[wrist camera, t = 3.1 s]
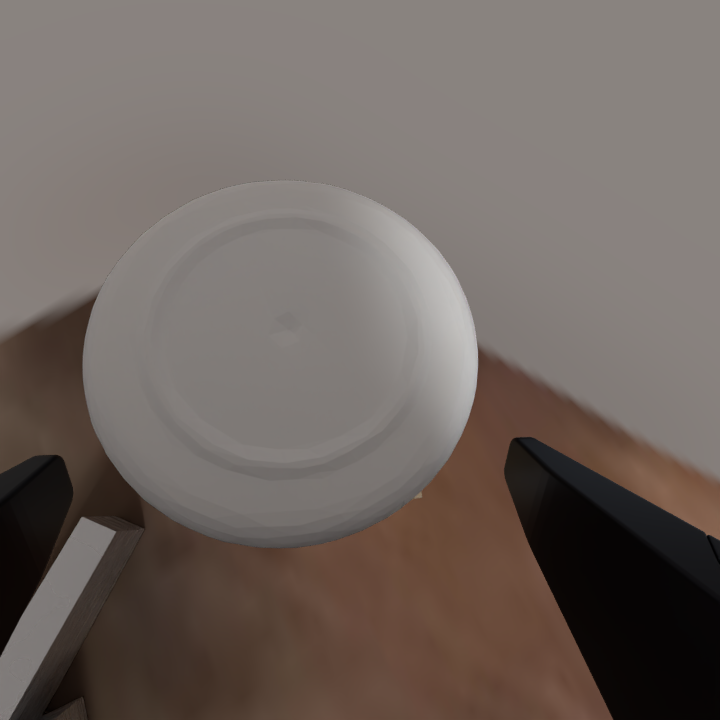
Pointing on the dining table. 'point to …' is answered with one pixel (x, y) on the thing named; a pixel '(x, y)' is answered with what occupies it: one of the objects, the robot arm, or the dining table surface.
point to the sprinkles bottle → (280, 363)
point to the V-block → (63, 618)
